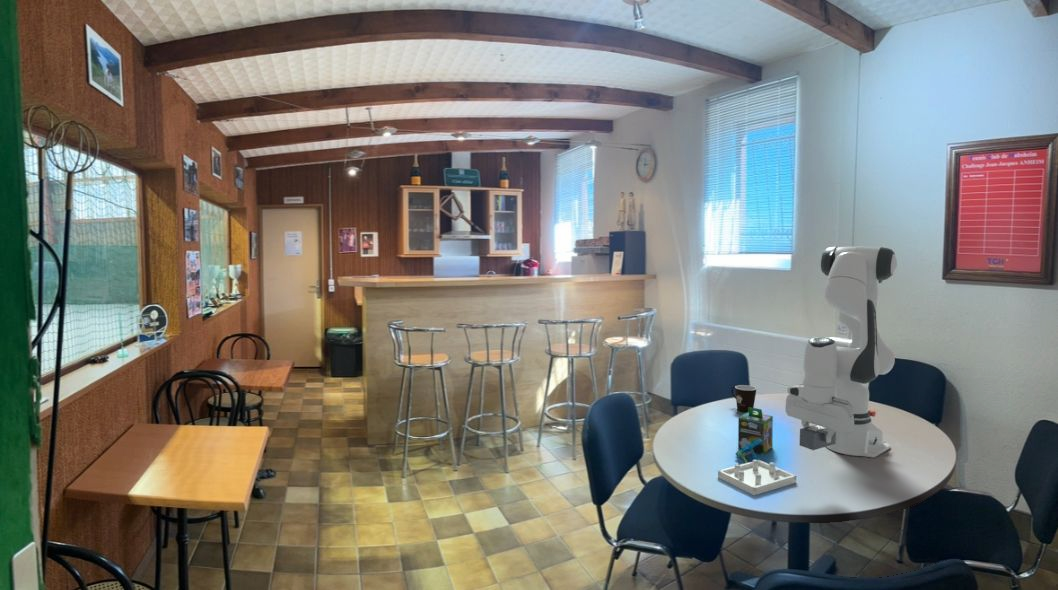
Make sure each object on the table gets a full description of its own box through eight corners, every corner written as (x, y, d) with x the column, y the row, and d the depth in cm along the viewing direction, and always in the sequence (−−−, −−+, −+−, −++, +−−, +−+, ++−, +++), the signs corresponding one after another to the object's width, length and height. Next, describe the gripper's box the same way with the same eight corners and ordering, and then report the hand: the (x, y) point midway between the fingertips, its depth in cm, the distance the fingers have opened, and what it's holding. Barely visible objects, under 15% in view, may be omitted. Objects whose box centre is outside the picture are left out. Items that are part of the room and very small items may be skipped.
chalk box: (772, 447, 201) (774, 407, 199) (763, 455, 194) (765, 413, 193) (746, 441, 207) (748, 402, 205) (737, 448, 200) (738, 407, 199)
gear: (748, 446, 197) (764, 433, 190) (759, 461, 195) (776, 449, 187) (726, 457, 192) (742, 444, 185) (737, 472, 189) (754, 460, 182)
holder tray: (758, 466, 184) (759, 454, 184) (796, 482, 172) (796, 470, 172) (717, 477, 176) (718, 465, 176) (754, 495, 164) (754, 482, 164)
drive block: (821, 439, 172) (822, 422, 171) (835, 443, 168) (836, 427, 167) (799, 445, 167) (800, 428, 167) (813, 450, 163) (813, 433, 163)
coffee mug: (759, 413, 239) (759, 390, 238) (738, 413, 239) (739, 390, 238) (748, 405, 251) (749, 383, 250) (729, 405, 251) (729, 383, 250)
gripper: (860, 400, 158) (858, 448, 159) (796, 383, 176) (795, 426, 178) (846, 404, 155) (844, 452, 157) (782, 386, 173) (781, 430, 175)
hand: (817, 438), depth 167 cm, fingers closed on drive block, 4 cm apart
